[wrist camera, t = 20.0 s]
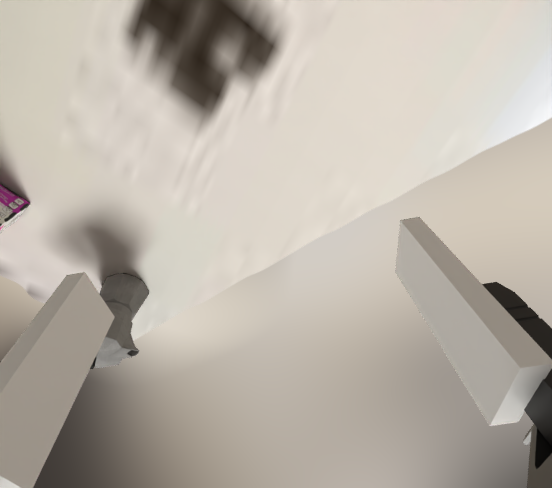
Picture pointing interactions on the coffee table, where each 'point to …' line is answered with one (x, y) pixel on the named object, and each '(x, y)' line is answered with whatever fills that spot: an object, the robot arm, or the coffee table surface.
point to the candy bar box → (10, 207)
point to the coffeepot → (120, 318)
